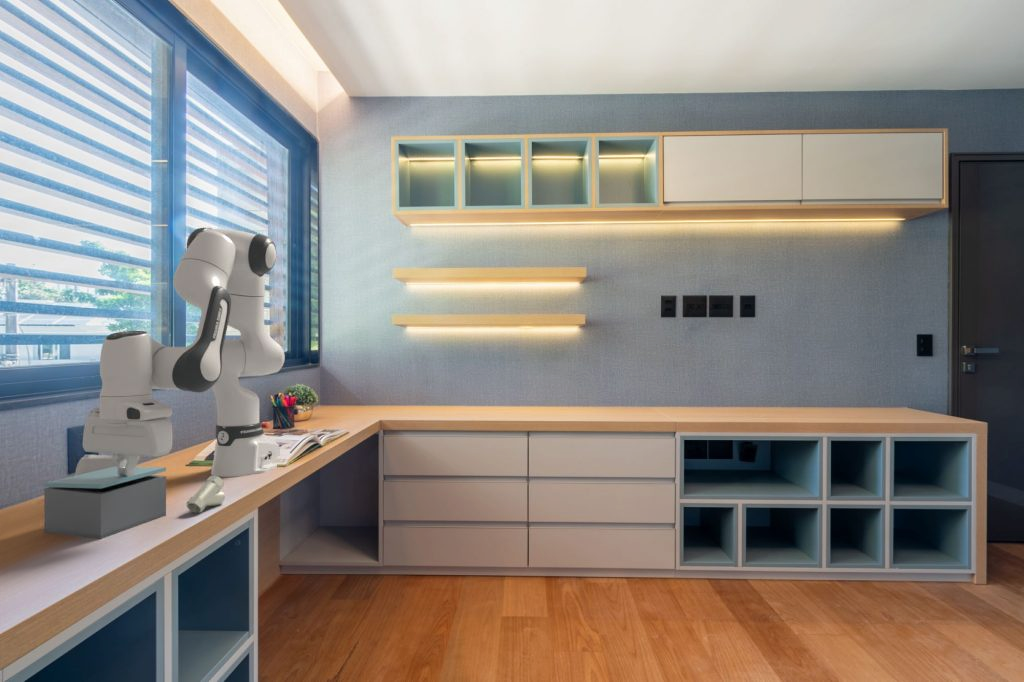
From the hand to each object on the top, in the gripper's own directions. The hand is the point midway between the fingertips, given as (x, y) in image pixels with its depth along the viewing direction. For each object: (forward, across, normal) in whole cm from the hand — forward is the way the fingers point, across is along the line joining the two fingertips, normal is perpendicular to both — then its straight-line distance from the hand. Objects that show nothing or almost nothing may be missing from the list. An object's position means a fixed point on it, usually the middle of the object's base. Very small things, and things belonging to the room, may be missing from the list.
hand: (126, 475), depth 108 cm
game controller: (+11, -30, +18) cm, 37 cm away
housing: (+11, -5, 0) cm, 12 cm away
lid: (+2, -13, 0) cm, 13 cm away
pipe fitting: (+11, +7, +16) cm, 21 cm away
